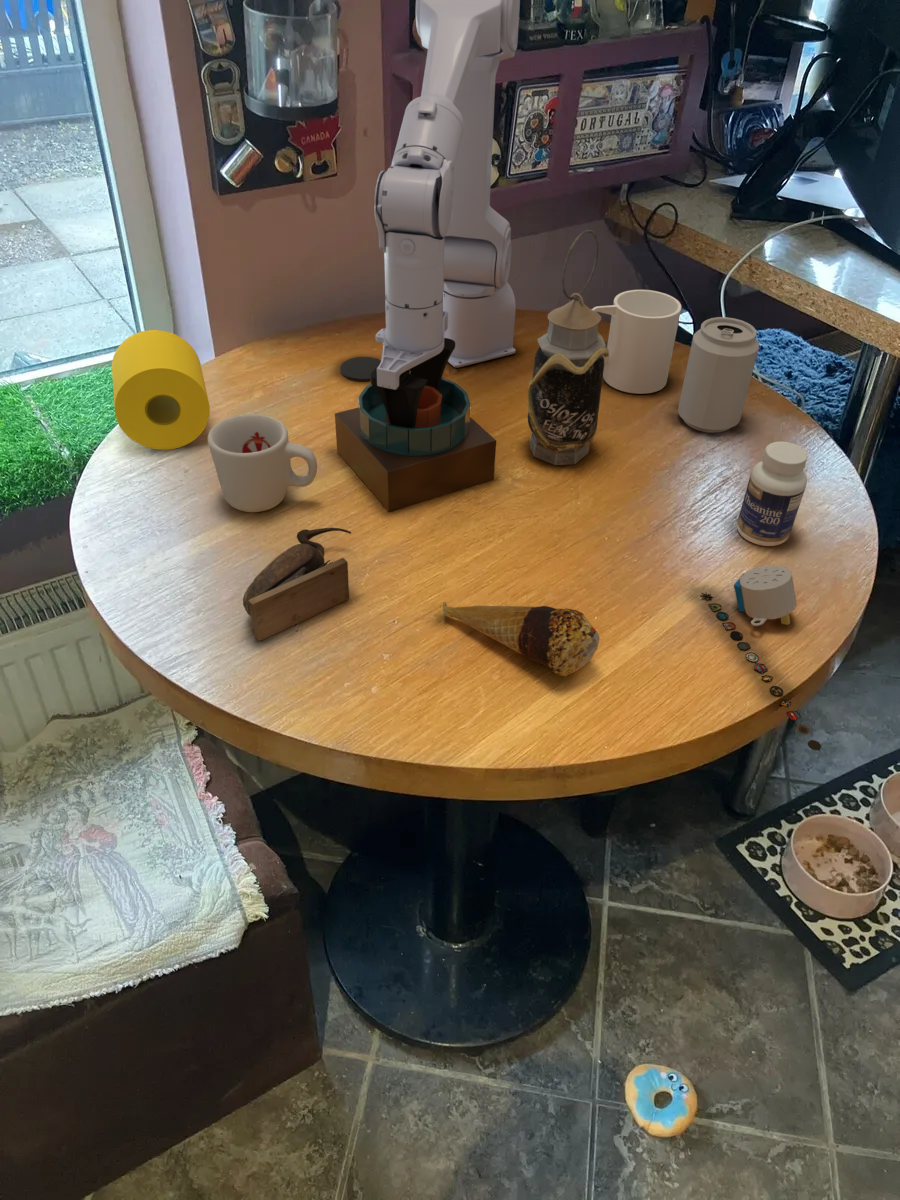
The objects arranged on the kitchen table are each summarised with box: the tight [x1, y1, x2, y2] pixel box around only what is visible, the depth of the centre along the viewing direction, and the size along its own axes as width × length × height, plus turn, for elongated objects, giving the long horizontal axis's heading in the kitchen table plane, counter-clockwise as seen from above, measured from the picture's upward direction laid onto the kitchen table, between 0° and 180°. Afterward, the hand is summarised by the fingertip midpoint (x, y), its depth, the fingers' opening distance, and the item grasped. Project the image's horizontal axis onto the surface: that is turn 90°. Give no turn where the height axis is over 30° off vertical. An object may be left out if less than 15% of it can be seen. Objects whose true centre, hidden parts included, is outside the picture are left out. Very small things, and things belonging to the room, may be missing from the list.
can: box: [677, 316, 760, 434], centre depth 110 cm, size 8×8×12 cm
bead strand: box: [699, 591, 823, 752], centre depth 83 cm, size 20×1×1 cm
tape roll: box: [111, 329, 211, 451], centre depth 107 cm, size 10×10×9 cm
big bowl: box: [357, 377, 472, 456], centre depth 101 cm, size 12×12×3 cm
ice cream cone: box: [442, 601, 600, 678], centre depth 82 cm, size 6×6×15 cm
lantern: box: [526, 229, 609, 466], centre depth 100 cm, size 9×8×25 cm
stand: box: [334, 407, 497, 512], centre depth 104 cm, size 13×13×5 cm
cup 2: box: [590, 289, 682, 395], centre depth 118 cm, size 8×12×10 cm
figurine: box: [242, 527, 352, 642], centre depth 88 cm, size 14×4×9 cm
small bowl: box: [386, 385, 442, 428], centre depth 101 cm, size 6×6×3 cm
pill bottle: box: [736, 441, 808, 547], centre depth 94 cm, size 5×5×10 cm
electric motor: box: [733, 564, 798, 627], centre depth 87 cm, size 7×5×5 cm
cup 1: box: [207, 413, 318, 513], centre depth 97 cm, size 11×8×8 cm
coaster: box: [339, 356, 382, 382], centre depth 121 cm, size 6×6×1 cm
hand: (414, 418), depth 101 cm, fingers closed on small bowl, 6 cm apart
